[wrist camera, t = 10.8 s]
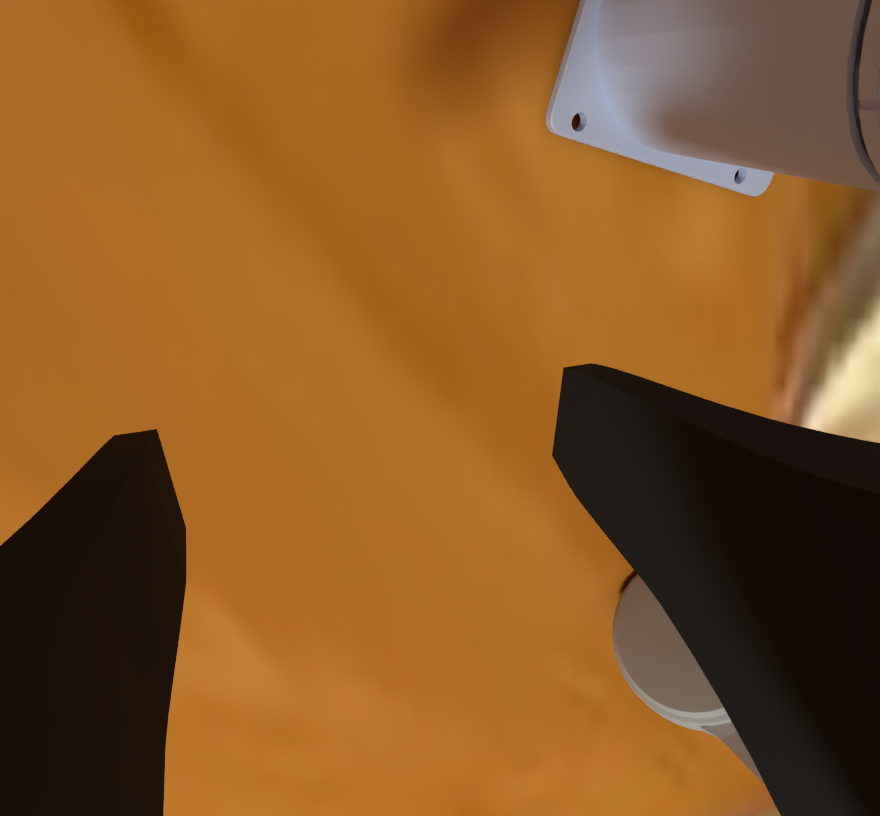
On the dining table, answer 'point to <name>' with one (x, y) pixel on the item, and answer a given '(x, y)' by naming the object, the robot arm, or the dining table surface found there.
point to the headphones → (668, 669)
